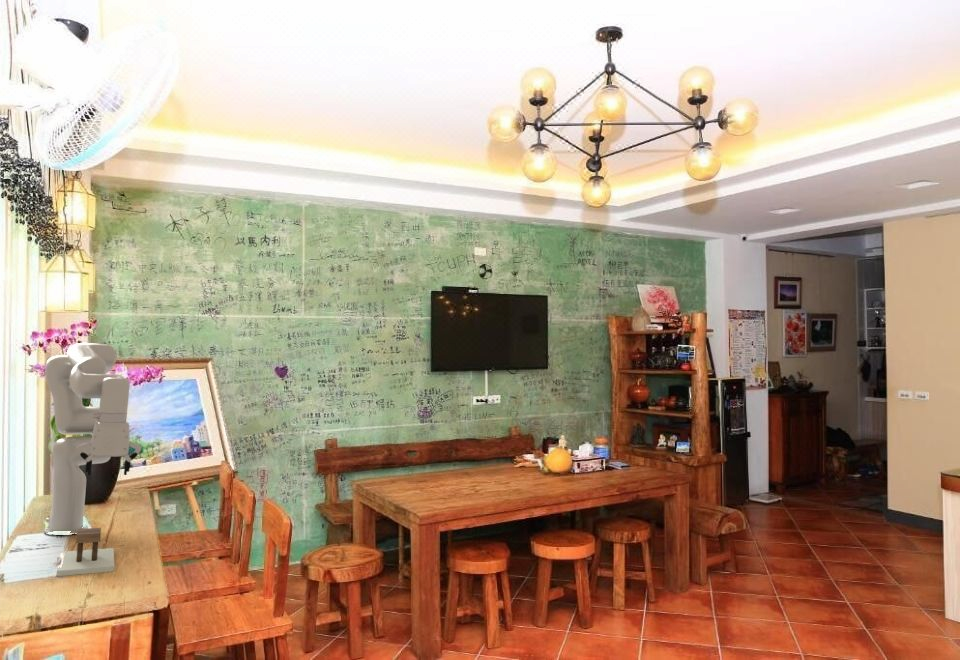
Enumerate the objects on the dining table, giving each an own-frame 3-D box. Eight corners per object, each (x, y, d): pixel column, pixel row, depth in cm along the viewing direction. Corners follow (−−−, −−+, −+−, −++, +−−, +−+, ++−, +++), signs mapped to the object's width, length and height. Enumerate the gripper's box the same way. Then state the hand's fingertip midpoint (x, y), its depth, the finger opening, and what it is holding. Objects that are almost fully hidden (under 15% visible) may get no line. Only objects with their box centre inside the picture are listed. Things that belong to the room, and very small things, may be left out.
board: (60, 556, 203) (60, 551, 203) (113, 552, 210) (113, 547, 210) (56, 576, 188) (56, 570, 188) (114, 571, 194) (114, 566, 194)
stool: (75, 556, 200) (77, 529, 200) (98, 554, 203) (100, 527, 203) (74, 562, 195) (76, 534, 195) (98, 560, 198) (100, 533, 198)
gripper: (79, 419, 200) (73, 477, 200) (144, 420, 208) (139, 476, 208) (80, 415, 207) (75, 471, 207) (144, 417, 215) (139, 471, 215)
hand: (107, 474), depth 208 cm, fingers open, 9 cm apart
